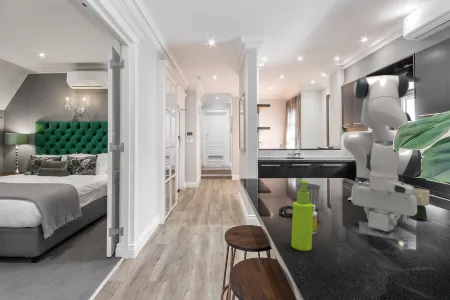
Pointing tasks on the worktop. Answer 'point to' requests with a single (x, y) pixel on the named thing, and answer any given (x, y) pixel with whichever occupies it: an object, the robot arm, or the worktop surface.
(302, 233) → the soap dispenser
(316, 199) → the milk frother
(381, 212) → the chalk-like cube
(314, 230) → the supplement bottle
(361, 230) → the plate
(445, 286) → the worktop surface
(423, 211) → the character mug
